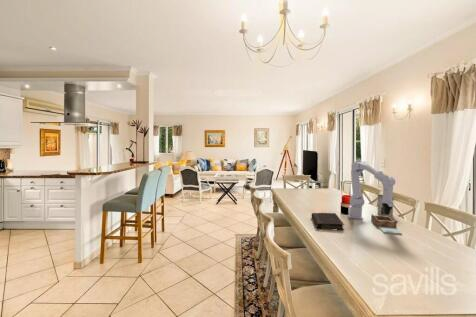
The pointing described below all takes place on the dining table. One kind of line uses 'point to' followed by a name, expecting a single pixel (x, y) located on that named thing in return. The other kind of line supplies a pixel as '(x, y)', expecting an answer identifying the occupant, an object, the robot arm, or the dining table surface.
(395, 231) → the cover plate
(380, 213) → the coffee box
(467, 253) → the dining table surface
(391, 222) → the wooden box
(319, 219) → the diary
